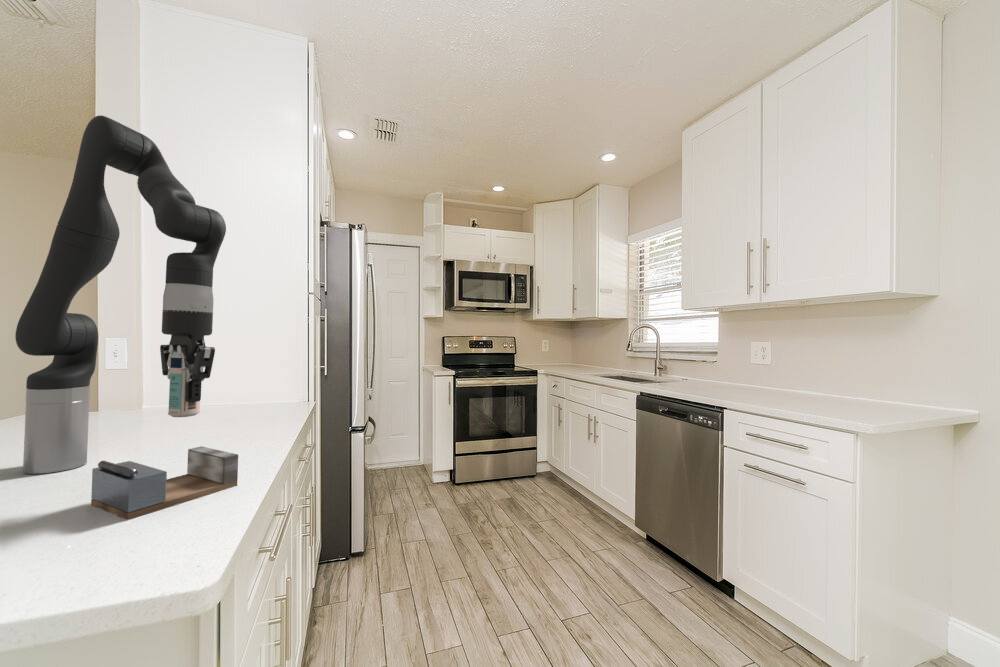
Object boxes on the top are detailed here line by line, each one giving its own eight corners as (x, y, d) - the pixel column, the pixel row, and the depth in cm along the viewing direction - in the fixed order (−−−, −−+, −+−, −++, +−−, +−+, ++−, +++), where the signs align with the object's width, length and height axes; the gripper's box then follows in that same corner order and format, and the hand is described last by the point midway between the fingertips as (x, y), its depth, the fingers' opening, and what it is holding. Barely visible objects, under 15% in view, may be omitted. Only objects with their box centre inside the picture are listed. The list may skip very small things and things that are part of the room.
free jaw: (91, 498, 68) (92, 461, 68) (130, 488, 73) (131, 453, 73) (128, 512, 63) (129, 472, 63) (167, 500, 68) (168, 463, 68)
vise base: (91, 505, 68) (92, 469, 68) (200, 475, 84) (201, 446, 84) (127, 520, 63) (129, 481, 63) (237, 485, 79) (238, 454, 79)
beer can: (203, 412, 79) (205, 351, 79) (195, 417, 74) (198, 352, 74) (173, 413, 77) (175, 350, 77) (163, 418, 72) (166, 351, 72)
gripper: (232, 311, 76) (228, 401, 76) (189, 311, 82) (185, 394, 82) (187, 308, 69) (183, 407, 69) (144, 308, 75) (140, 399, 75)
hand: (184, 399), depth 75 cm, fingers closed on beer can, 4 cm apart
